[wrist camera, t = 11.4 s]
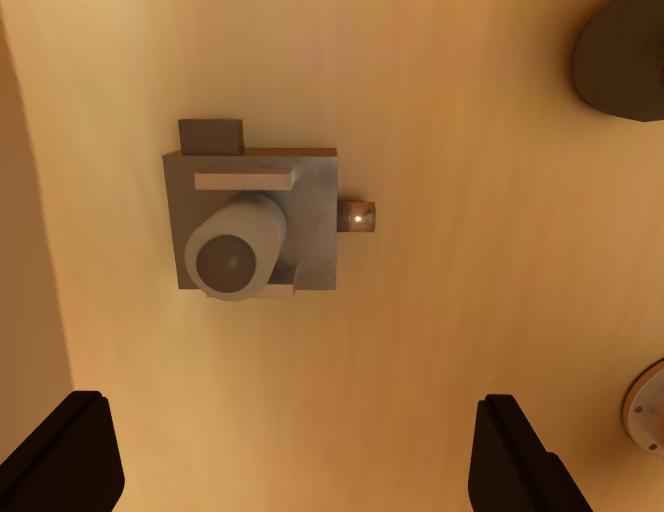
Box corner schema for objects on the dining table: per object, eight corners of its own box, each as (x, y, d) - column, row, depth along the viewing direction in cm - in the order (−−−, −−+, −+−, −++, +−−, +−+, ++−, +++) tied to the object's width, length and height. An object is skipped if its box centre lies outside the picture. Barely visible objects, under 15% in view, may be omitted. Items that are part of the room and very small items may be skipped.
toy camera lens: (287, 194, 30) (269, 224, 22) (286, 261, 31) (270, 309, 24) (216, 191, 30) (175, 220, 22) (219, 258, 31) (183, 305, 24)
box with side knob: (373, 119, 34) (388, 124, 25) (368, 262, 38) (379, 308, 29) (186, 117, 34) (138, 121, 25) (201, 261, 38) (164, 306, 29)
